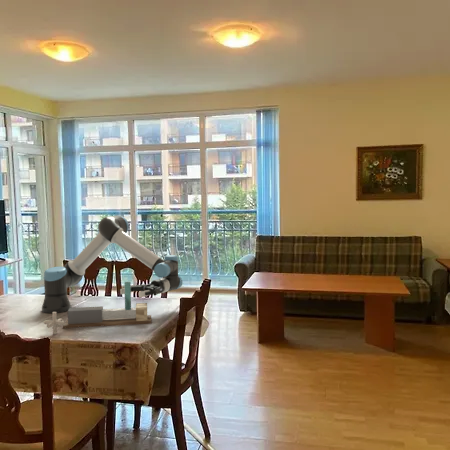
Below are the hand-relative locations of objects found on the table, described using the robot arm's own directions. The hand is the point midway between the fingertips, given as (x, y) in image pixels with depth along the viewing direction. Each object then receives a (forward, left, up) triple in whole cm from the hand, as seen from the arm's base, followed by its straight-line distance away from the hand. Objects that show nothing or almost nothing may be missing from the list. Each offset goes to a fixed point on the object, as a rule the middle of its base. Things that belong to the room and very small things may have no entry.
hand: (129, 293), depth 229 cm
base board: (0, -11, -14) cm, 18 cm away
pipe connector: (+14, -34, -14) cm, 39 cm away
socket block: (0, +6, -13) cm, 14 cm away
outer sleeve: (0, -22, -13) cm, 25 cm away
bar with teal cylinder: (0, -6, -12) cm, 13 cm away
